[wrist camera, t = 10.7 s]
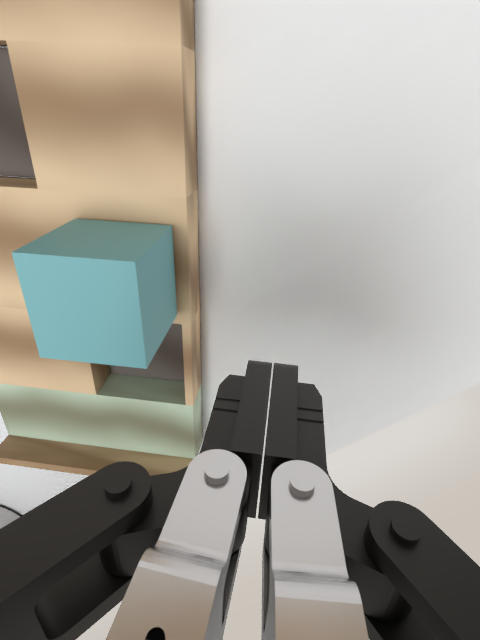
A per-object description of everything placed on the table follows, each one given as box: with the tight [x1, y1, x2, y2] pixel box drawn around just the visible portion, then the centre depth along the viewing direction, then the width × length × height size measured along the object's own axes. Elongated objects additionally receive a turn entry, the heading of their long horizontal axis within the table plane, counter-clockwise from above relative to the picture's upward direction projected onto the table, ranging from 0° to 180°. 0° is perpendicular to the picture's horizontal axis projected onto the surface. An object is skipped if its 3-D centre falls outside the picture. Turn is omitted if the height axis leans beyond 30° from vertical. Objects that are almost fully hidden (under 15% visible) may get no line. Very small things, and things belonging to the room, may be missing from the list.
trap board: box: [0, 0, 202, 476], centre depth 21 cm, size 29×14×4 cm, turn 178°
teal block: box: [11, 219, 177, 369], centre depth 18 cm, size 5×5×5 cm
